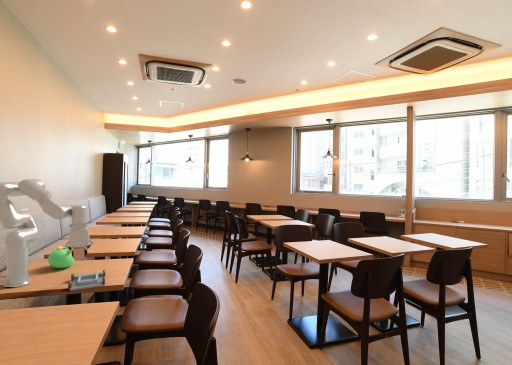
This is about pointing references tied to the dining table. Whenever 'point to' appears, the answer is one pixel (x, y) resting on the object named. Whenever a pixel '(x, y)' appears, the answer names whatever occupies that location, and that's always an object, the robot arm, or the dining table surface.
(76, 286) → the chassis
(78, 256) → the terracotta rectangular box
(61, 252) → the toy bird
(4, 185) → the robot arm
